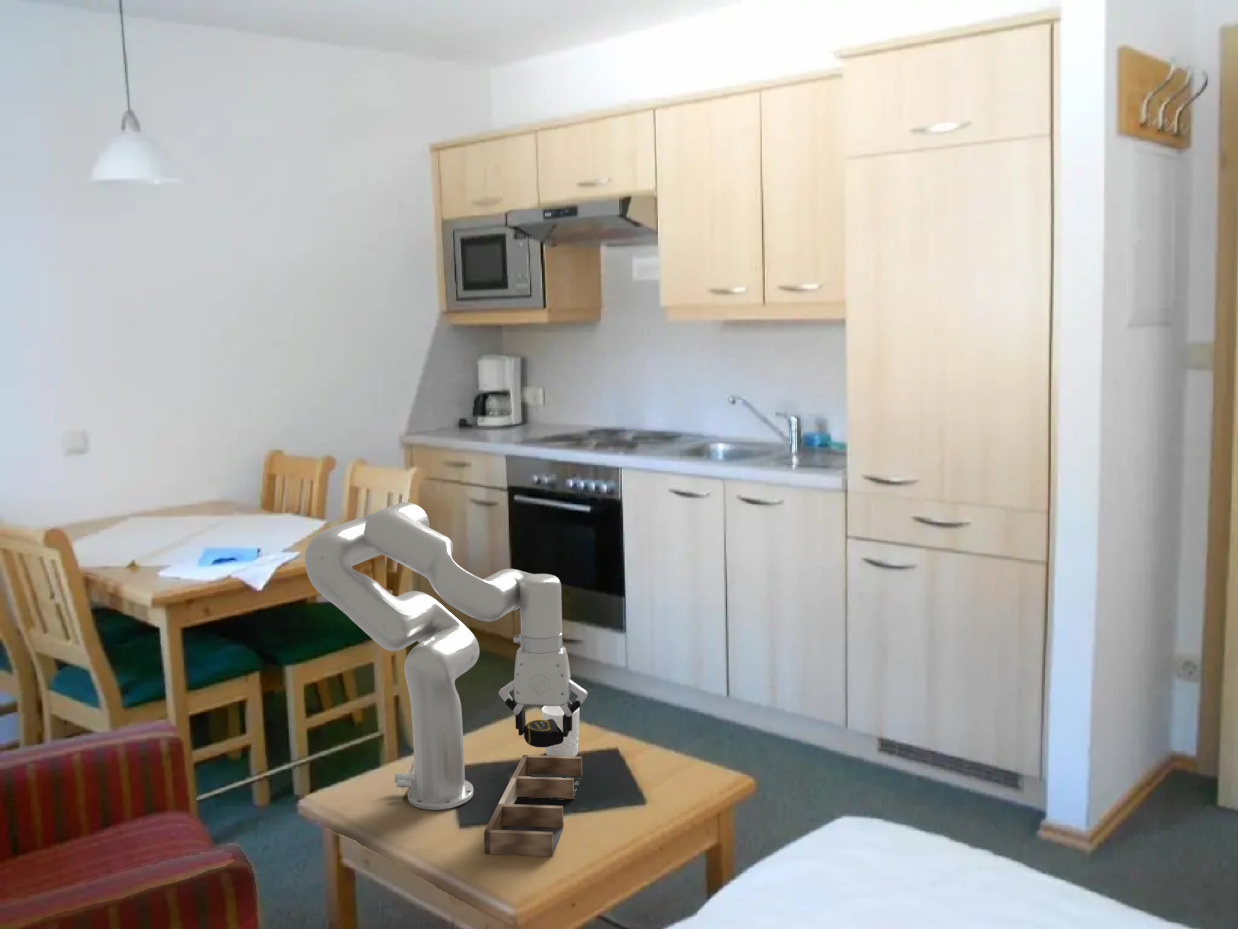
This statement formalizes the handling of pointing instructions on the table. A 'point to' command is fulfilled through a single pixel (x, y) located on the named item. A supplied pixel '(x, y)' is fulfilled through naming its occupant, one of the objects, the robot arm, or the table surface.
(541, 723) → the tape measure
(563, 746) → the white cup
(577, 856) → the table surface
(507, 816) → the wooden wall shelf
